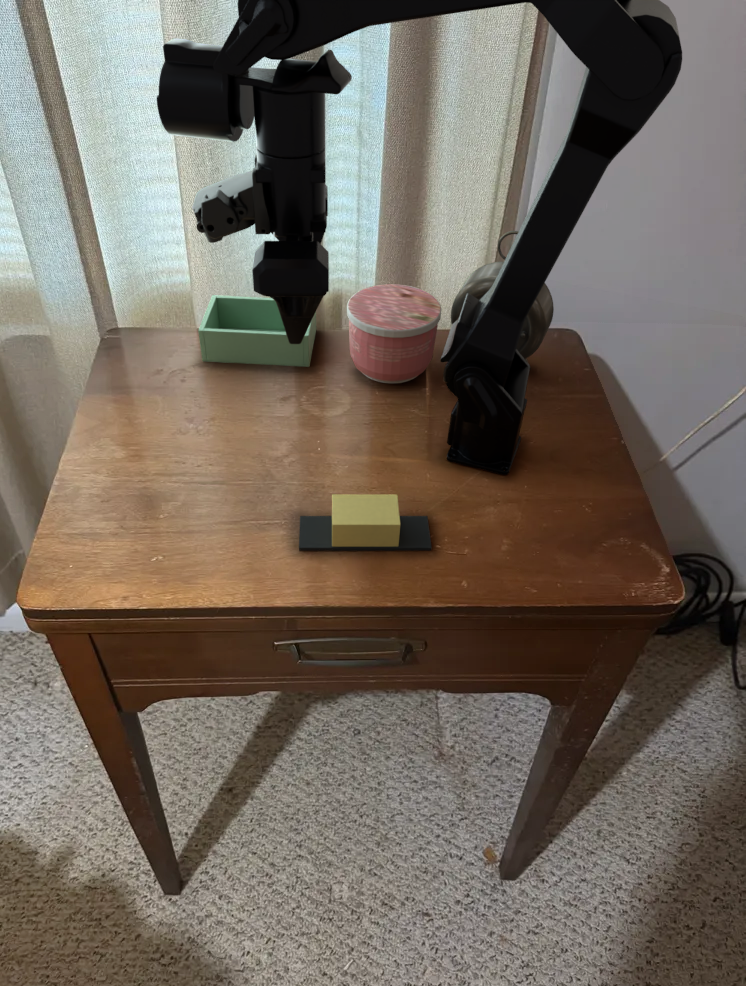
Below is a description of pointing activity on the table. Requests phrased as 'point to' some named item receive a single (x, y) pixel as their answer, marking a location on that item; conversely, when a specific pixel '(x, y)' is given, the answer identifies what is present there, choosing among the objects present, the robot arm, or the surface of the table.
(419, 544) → the desk mat
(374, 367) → the container
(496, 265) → the alarm clock
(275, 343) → the storage box
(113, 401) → the table surface
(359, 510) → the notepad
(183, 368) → the table surface
